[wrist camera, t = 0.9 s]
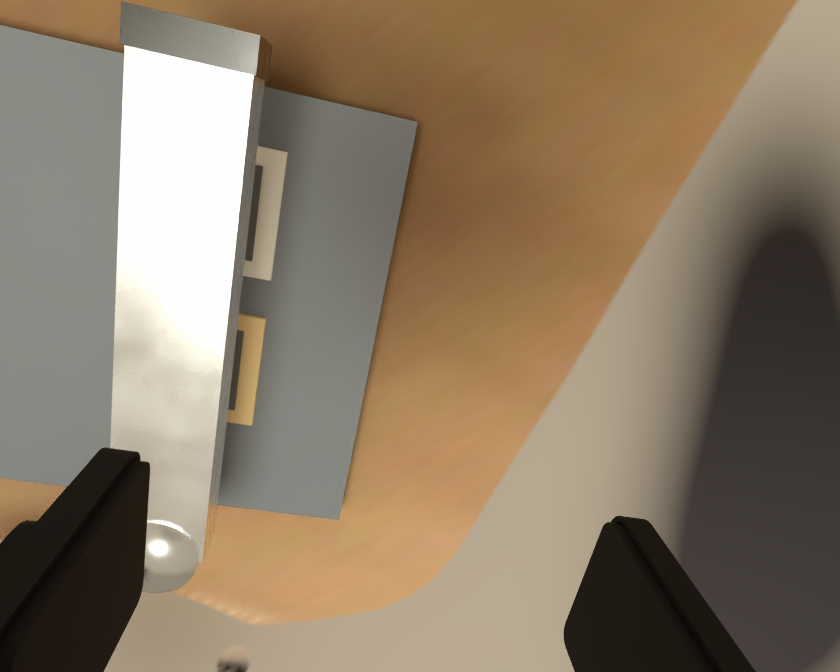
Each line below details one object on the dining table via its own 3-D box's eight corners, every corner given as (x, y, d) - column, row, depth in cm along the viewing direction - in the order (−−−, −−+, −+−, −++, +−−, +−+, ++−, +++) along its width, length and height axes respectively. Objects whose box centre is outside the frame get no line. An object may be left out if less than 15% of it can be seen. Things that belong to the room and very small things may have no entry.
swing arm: (214, 558, 27) (199, 597, 25) (124, 549, 26) (100, 587, 24) (272, 46, 20) (259, 34, 17) (149, 16, 19) (119, 0, 17)
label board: (-43, 16, 23) (-161, -18, 18) (415, 122, 26) (425, 119, 21) (-20, 457, 30) (-100, 523, 25) (340, 503, 33) (334, 570, 28)
